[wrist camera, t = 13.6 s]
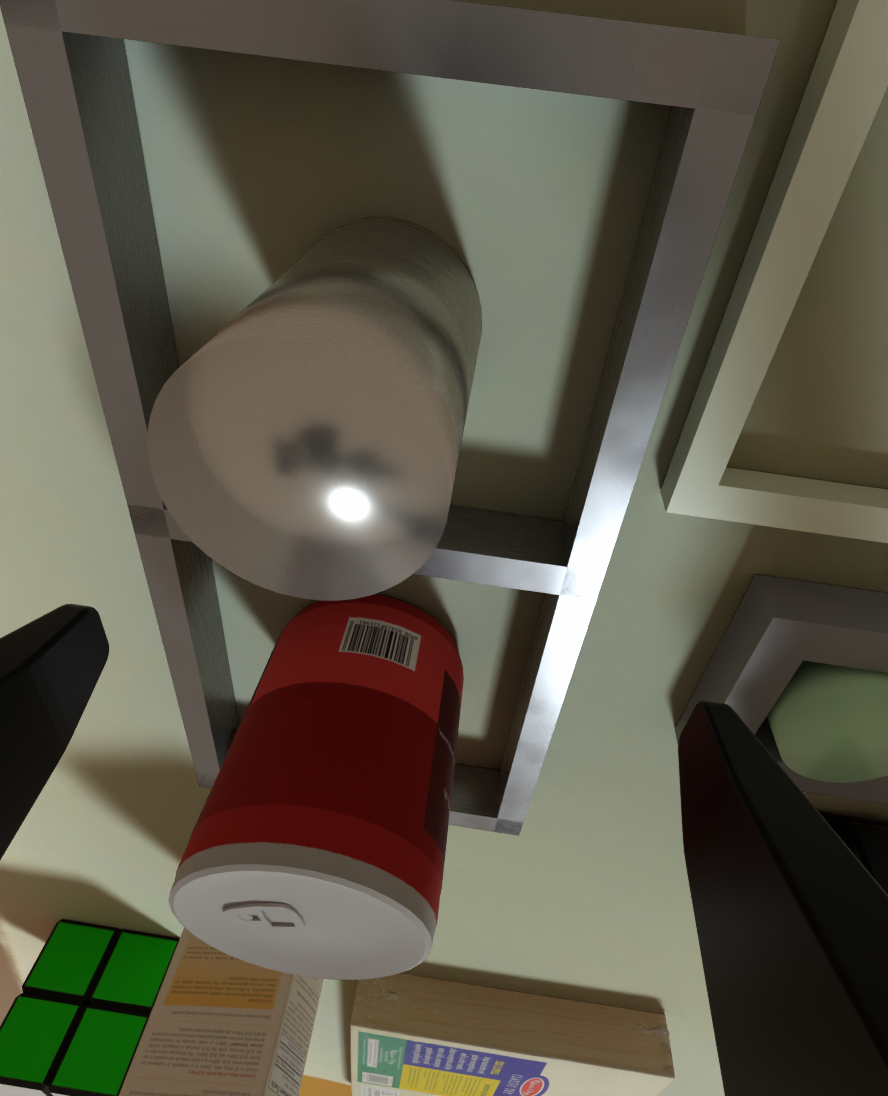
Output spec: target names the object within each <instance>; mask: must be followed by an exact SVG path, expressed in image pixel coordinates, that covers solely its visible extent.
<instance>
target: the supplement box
mask: <svg viewBox="0 0 888 1096" xmlns="http://www.w3.org/2000/svg"><path fill="white" fill-rule="evenodd" d="M322 983H323V978H312V977H306V976H300V975H294V974H288V973H284V972H280V971H276V970H271V969H267V968H264V967H261V966H258V965H254V964H251V963H248V962H245V961H243V960H240V959H238V958H235V957H233V956H230V955H228V954H226V953H224V952H222V951H220V950H218V949H216V948H214V947H212V946H210V945H208V944H207V943H205V942H204V941H202V940H201V939H199V938H198V937H196V936H195V935H193V934H192V933H191V932H190V931H189V930H188V929H186V928H185V927H184V929H183V932H182V935H181V937H180V940H179V943H178V945H177V947H176V950H175V952H174V955H173V957H172V960H171V963H170V965H169V968H168V970H167V973H166V976H165V979H164V981H163V984H162V986H161V989H160V991H159V994H158V996H157V999H156V1002H155V1004H154V1007H153V1009H152V1012H151V1014H150V1017H149V1020H148V1022H147V1025H146V1027H145V1030H144V1032H143V1035H142V1037H141V1040H140V1042H139V1045H138V1048H137V1050H136V1053H135V1055H134V1058H133V1061H132V1063H131V1066H130V1068H129V1071H128V1073H127V1076H126V1078H125V1081H124V1084H123V1086H122V1089H121V1091H120V1094H119V1096H298V1095H299V1090H300V1086H301V1081H302V1077H303V1072H304V1067H305V1063H306V1058H307V1053H308V1049H309V1044H310V1040H311V1035H312V1030H313V1026H314V1021H315V1016H316V1012H317V1007H318V1002H319V998H320V993H321V989H322Z"/></svg>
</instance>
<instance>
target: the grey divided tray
mask: <svg viewBox="0 0 888 1096" xmlns="http://www.w3.org/2000/svg"><path fill="white" fill-rule="evenodd" d="M0 7H1V11H2V15H3V19H4V23H5V27H6V31H7V35H8V39H9V43H10V47H11V51H12V54H13V58H14V62H15V66H16V70H17V74H18V78H19V82H20V86H21V90H22V94H23V98H24V101H25V105H26V109H27V113H28V117H29V121H30V125H31V129H32V133H33V137H34V141H35V144H36V148H37V152H38V156H39V160H40V164H41V168H42V172H43V176H44V180H45V184H46V188H47V191H48V195H49V199H50V203H51V207H52V211H53V215H54V219H55V223H56V227H57V231H58V234H59V238H60V242H61V246H62V250H63V254H64V258H65V262H66V266H67V270H68V274H69V278H70V281H71V285H72V289H73V293H74V297H75V301H76V305H77V309H78V313H79V317H80V321H81V325H82V328H83V332H84V336H85V340H86V344H87V348H88V352H89V356H90V360H91V364H92V368H93V371H94V375H95V379H96V383H97V387H98V391H99V395H100V399H101V403H102V407H103V411H104V415H105V418H106V422H107V426H108V430H109V434H110V438H111V442H112V446H113V450H114V454H115V458H116V461H117V465H118V469H119V473H120V477H121V481H122V485H123V489H124V493H125V497H126V501H127V505H128V508H129V512H130V516H131V520H132V524H133V528H134V532H135V536H136V540H137V544H138V548H139V552H140V555H141V559H142V563H143V567H144V571H145V575H146V579H147V583H148V587H149V591H150V595H151V598H152V602H153V606H154V610H155V614H156V618H157V622H158V626H159V630H160V634H161V638H162V642H163V645H164V649H165V653H166V657H167V661H168V665H169V669H170V673H171V677H172V681H173V685H174V688H175V692H176V696H177V700H178V704H179V708H180V712H181V716H182V720H183V724H184V728H185V732H186V735H187V739H188V743H189V747H190V751H191V755H192V759H193V763H194V767H195V771H196V775H197V779H198V782H199V786H203V787H210V788H212V787H213V785H214V783H215V780H216V778H217V776H218V774H219V771H220V769H221V767H222V764H223V762H224V760H225V758H226V755H227V753H228V751H229V749H230V746H231V744H232V742H233V740H234V737H235V735H236V733H237V730H238V728H239V721H238V715H237V709H236V703H235V697H234V691H233V686H232V680H231V674H230V668H229V662H228V656H227V650H226V644H225V638H224V632H223V626H222V620H221V614H220V608H219V602H218V597H217V591H216V585H215V579H214V573H213V567H212V561H211V558H210V557H209V556H208V555H206V554H205V553H204V552H203V551H202V550H201V549H200V548H199V547H198V546H196V545H195V544H194V543H193V542H192V541H191V539H190V538H189V537H188V536H187V535H186V534H185V533H184V532H183V531H182V529H181V528H180V527H179V525H178V524H177V523H176V521H175V520H174V519H173V517H172V516H171V514H170V513H169V511H168V509H167V508H166V506H165V504H164V502H163V501H162V499H161V497H160V494H159V492H158V490H157V487H156V485H155V482H154V479H153V476H152V472H151V469H150V464H149V457H148V450H147V432H148V426H149V420H150V415H151V412H152V409H153V406H154V403H155V400H156V398H157V397H158V395H159V393H160V391H161V389H162V388H163V386H164V384H165V383H166V382H167V381H168V379H169V378H170V377H171V376H172V375H173V373H174V372H175V371H176V370H177V369H178V368H179V365H178V359H177V353H176V347H175V341H174V335H173V329H172V323H171V318H170V312H169V306H168V300H167V294H166V288H165V282H164V276H163V270H162V264H161V258H160V252H159V246H158V240H157V234H156V228H155V223H154V217H153V211H152V205H151V199H150V193H149V187H148V181H147V175H146V169H145V163H144V157H143V151H142V145H141V139H140V133H139V128H138V122H137V116H136V110H135V104H134V98H133V92H132V86H131V80H130V74H129V68H128V62H127V56H126V50H125V44H124V39H129V40H138V41H146V42H154V43H162V44H170V45H178V46H187V47H195V48H203V49H211V50H219V51H228V52H236V53H244V54H252V55H260V56H269V57H277V58H285V59H293V60H301V61H309V62H318V63H326V64H334V65H342V66H350V67H359V68H367V69H375V70H383V71H391V72H400V73H408V74H416V75H424V76H432V77H440V78H449V79H457V80H465V81H473V82H481V83H490V84H498V85H506V86H514V87H522V88H531V89H539V90H547V91H555V92H563V93H571V94H580V95H588V96H596V97H604V98H612V99H621V100H629V101H637V102H645V103H653V104H662V105H670V106H672V110H671V113H670V117H669V121H668V125H667V129H666V133H665V136H664V140H663V144H662V148H661V152H660V156H659V160H658V163H657V167H656V171H655V175H654V179H653V183H652V186H651V190H650V194H649V198H648V202H647V206H646V210H645V213H644V217H643V221H642V225H641V229H640V233H639V236H638V240H637V244H636V248H635V252H634V256H633V260H632V263H631V267H630V271H629V275H628V279H627V283H626V286H625V290H624V294H623V298H622V302H621V306H620V309H619V313H618V317H617V321H616V325H615V329H614V333H613V336H612V340H611V344H610V348H609V352H608V356H607V359H606V363H605V367H604V371H603V375H602V379H601V383H600V386H599V390H598V394H597V398H596V402H595V406H594V409H593V413H592V417H591V421H590V425H589V429H588V433H587V436H586V440H585V444H584V448H583V452H582V456H581V459H580V463H579V467H578V471H577V475H576V479H575V483H574V486H573V490H572V494H571V498H570V502H569V506H568V509H567V513H566V517H565V521H559V520H552V519H545V518H538V517H530V516H523V515H516V514H509V513H502V512H495V511H488V510H481V509H474V508H467V507H460V506H453V505H450V507H449V512H448V517H447V522H446V526H445V528H444V531H443V534H442V536H441V539H440V541H439V543H438V544H437V546H436V548H435V550H434V551H433V553H432V554H431V555H430V557H429V558H428V559H427V560H426V562H425V563H424V564H423V565H422V566H421V567H420V568H419V569H418V570H417V571H416V572H414V573H413V574H417V575H424V576H431V577H438V578H445V579H452V580H459V581H466V582H472V583H479V584H486V585H493V586H500V587H507V588H514V589H521V590H528V591H535V592H542V593H546V594H545V598H544V602H543V606H542V609H541V613H540V617H539V621H538V625H537V629H536V633H535V636H534V640H533V644H532V648H531V652H530V656H529V659H528V663H527V667H526V671H525V675H524V679H523V683H522V686H521V690H520V694H519V698H518V702H517V706H516V709H515V713H514V717H513V721H512V725H511V729H510V733H509V736H508V740H507V744H506V748H505V752H504V756H503V759H502V763H501V767H500V771H498V770H492V769H485V768H479V767H472V766H466V765H459V764H455V766H454V775H453V785H452V794H451V804H450V813H449V823H448V825H454V826H460V827H466V828H473V829H479V830H486V831H492V832H499V833H505V834H511V835H518V836H519V834H520V831H521V828H522V824H523V821H524V818H525V815H526V812H527V809H528V806H529V803H530V800H531V797H532V794H533V791H534V788H535V785H536V782H537V779H538V776H539V773H540V770H541V767H542V764H543V761H544V758H545V755H546V751H547V748H548V745H549V742H550V739H551V736H552V733H553V730H554V727H555V724H556V721H557V718H558V715H559V712H560V709H561V706H562V703H563V700H564V697H565V694H566V691H567V688H568V685H569V682H570V679H571V675H572V672H573V669H574V666H575V663H576V660H577V657H578V654H579V651H580V648H581V645H582V642H583V639H584V636H585V633H586V630H587V627H588V624H589V621H590V618H591V615H592V612H593V609H594V606H595V603H596V599H597V596H598V593H599V590H600V587H601V584H602V581H603V578H604V575H605V572H606V569H607V566H608V563H609V560H610V557H611V554H612V551H613V548H614V545H615V542H616V539H617V536H618V533H619V530H620V526H621V523H622V520H623V517H624V514H625V511H626V508H627V505H628V502H629V499H630V496H631V493H632V490H633V487H634V484H635V481H636V478H637V475H638V472H639V469H640V466H641V463H642V460H643V457H644V454H645V450H646V447H647V444H648V441H649V438H650V435H651V432H652V429H653V426H654V423H655V420H656V417H657V414H658V411H659V408H660V405H661V402H662V399H663V396H664V393H665V390H666V387H667V384H668V381H669V378H670V374H671V371H672V368H673V365H674V362H675V359H676V356H677V353H678V350H679V347H680V344H681V341H682V338H683V335H684V332H685V329H686V326H687V323H688V320H689V317H690V314H691V311H692V308H693V305H694V301H695V298H696V295H697V292H698V289H699V286H700V283H701V280H702V277H703V274H704V271H705V268H706V265H707V262H708V259H709V256H710V253H711V250H712V247H713V244H714V241H715V238H716V235H717V232H718V229H719V225H720V222H721V219H722V216H723V213H724V210H725V207H726V204H727V201H728V198H729V195H730V192H731V189H732V186H733V183H734V180H735V177H736V174H737V171H738V168H739V165H740V162H741V159H742V156H743V153H744V149H745V146H746V143H747V140H748V137H749V134H750V131H751V128H752V125H753V122H754V119H755V116H756V113H757V110H758V107H759V104H760V101H761V98H762V95H763V92H764V89H765V86H766V83H767V80H768V76H769V73H770V70H771V67H772V64H773V61H774V58H775V55H776V52H777V49H778V46H779V43H780V40H781V39H773V38H764V37H756V36H747V35H739V34H731V33H722V32H714V31H705V30H697V29H688V28H680V27H672V26H663V25H655V24H646V23H638V22H629V21H621V20H613V19H604V18H596V17H587V16H579V15H570V14H562V13H554V12H545V11H537V10H528V9H520V8H511V7H503V6H495V5H486V4H478V3H469V2H461V1H452V0H0Z"/></svg>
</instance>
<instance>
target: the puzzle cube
mask: <svg viewBox="0 0 888 1096" xmlns="http://www.w3.org/2000/svg"><path fill="white" fill-rule="evenodd" d="M179 940H180V939H178V938H172V937H166V936H160V935H154V934H147V933H141V932H135V931H129V930H123V931H122V932H119V930H118V929H117V928H111V927H105V926H99V925H93V924H87V923H81V922H75V921H69V920H63V919H62V920H61V921H59V922H57V923H56V925H55V927H54V929H53V930H52V932H51V934H50V936H49V938H48V940H47V941H46V943H45V945H44V947H43V949H42V951H41V952H40V954H39V956H38V958H37V960H36V962H35V963H34V965H33V967H32V969H31V971H30V973H29V974H28V976H27V978H26V980H25V982H24V984H23V985H22V990H23V993H22V994H20V995H19V996H17V997H16V998H15V1000H14V1002H13V1004H12V1006H11V1008H10V1010H9V1012H8V1014H7V1015H6V1017H5V1019H4V1021H3V1022H2V1024H1V1026H0V1096H119V1094H120V1091H121V1089H122V1086H123V1084H124V1081H125V1078H126V1076H127V1073H128V1071H129V1068H130V1066H131V1063H132V1061H133V1058H134V1055H135V1053H136V1050H137V1048H138V1045H139V1042H140V1040H141V1037H142V1035H143V1032H144V1030H145V1027H146V1025H147V1022H148V1020H149V1017H150V1014H151V1012H152V1009H153V1007H154V1004H155V1002H156V999H157V996H158V994H159V991H160V989H161V986H162V984H163V981H164V979H165V976H166V973H167V970H168V968H169V965H170V963H171V960H172V957H173V955H174V952H175V950H176V947H177V945H178V943H179Z"/></svg>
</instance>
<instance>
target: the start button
mask: <svg viewBox="0 0 888 1096" xmlns="http://www.w3.org/2000/svg"><path fill="white" fill-rule="evenodd" d="M767 718H768V721H769V724H770V727H771V730H772V733H773V736H774V738H775V741H776V744H777V747H778V750H779V753H780V755H781V758H782V760H783V761H784V763H785V764H786V765H787V766H788V767H789V768H790V769H791V770H793V771H794V772H796V773H798V774H800V775H802V776H805V777H807V778H811V779H814V780H819V781H824V782H836V783H848V782H860V781H867V780H872V779H876V778H880V777H884V776H887V775H888V673H886V672H879V671H873V670H866V669H859V668H852V667H845V666H838V665H832V664H825V663H818V662H811V661H804V660H803V661H802V663H801V664H800V666H799V667H798V669H797V670H796V672H795V674H794V675H793V677H792V678H791V680H790V681H789V683H788V684H787V686H786V687H785V689H784V690H783V692H782V693H781V695H780V697H779V698H778V700H777V701H776V703H775V704H774V706H773V707H772V709H771V710H770V712H769V713H768V715H767Z"/></svg>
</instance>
